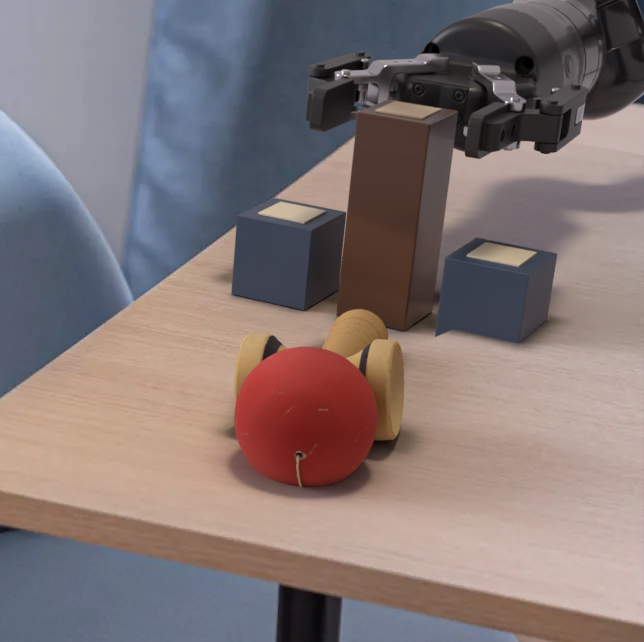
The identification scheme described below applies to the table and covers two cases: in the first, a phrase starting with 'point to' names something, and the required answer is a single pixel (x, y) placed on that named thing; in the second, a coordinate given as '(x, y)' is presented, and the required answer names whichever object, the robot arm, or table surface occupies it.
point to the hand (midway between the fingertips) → (392, 124)
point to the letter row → (325, 263)
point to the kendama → (318, 400)
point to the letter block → (396, 211)
